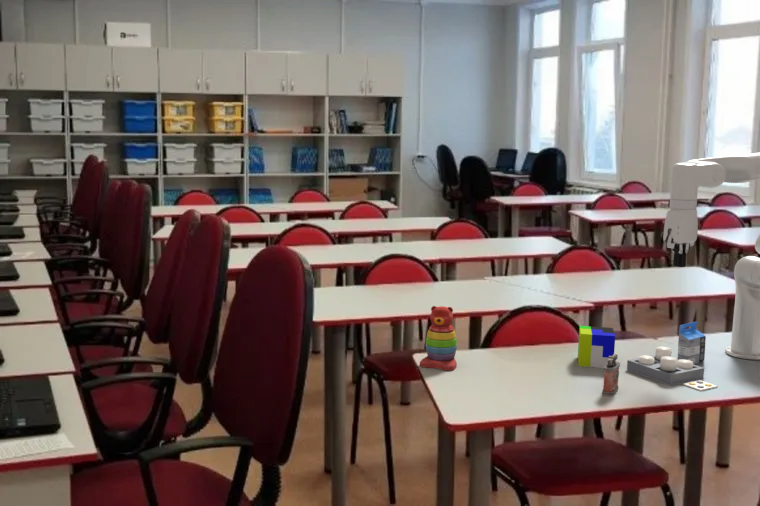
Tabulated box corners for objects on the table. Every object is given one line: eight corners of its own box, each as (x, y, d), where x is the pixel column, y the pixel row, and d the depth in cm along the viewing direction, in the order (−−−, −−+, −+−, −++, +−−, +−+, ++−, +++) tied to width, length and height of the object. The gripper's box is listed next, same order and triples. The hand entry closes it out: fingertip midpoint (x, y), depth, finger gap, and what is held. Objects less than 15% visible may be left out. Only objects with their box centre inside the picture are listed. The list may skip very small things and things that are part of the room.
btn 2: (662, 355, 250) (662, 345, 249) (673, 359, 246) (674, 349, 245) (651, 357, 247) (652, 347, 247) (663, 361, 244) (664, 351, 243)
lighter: (612, 396, 221) (614, 360, 220) (599, 394, 223) (601, 358, 221) (620, 388, 228) (623, 353, 226) (608, 386, 230) (610, 351, 228)
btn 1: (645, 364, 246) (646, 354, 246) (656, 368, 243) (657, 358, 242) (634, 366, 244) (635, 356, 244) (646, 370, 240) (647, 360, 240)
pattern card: (699, 381, 236) (699, 379, 236) (717, 387, 230) (717, 385, 230) (682, 384, 232) (683, 383, 232) (700, 391, 227) (700, 389, 227)
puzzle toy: (613, 368, 246) (615, 336, 245) (578, 366, 248) (580, 333, 247) (610, 359, 256) (612, 327, 255) (577, 356, 258) (579, 325, 256)
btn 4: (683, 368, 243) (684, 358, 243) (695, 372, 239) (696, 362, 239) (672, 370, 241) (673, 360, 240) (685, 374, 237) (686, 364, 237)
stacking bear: (417, 366, 245) (419, 308, 242) (428, 358, 254) (430, 301, 251) (452, 371, 241) (454, 312, 238) (462, 362, 250) (464, 305, 247)
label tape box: (687, 367, 249) (690, 327, 247) (675, 363, 252) (679, 324, 250) (704, 362, 254) (708, 323, 252) (692, 359, 258) (696, 320, 255)
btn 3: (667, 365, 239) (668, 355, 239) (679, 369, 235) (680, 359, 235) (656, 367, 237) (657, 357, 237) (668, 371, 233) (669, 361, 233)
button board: (659, 363, 252) (660, 353, 252) (703, 378, 239) (704, 368, 238) (626, 369, 245) (627, 360, 245) (670, 385, 232) (670, 374, 231)
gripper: (689, 202, 251) (685, 261, 254) (655, 205, 243) (651, 266, 246) (710, 204, 244) (706, 265, 247) (676, 207, 237) (672, 270, 240)
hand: (679, 266), depth 247 cm, fingers closed
